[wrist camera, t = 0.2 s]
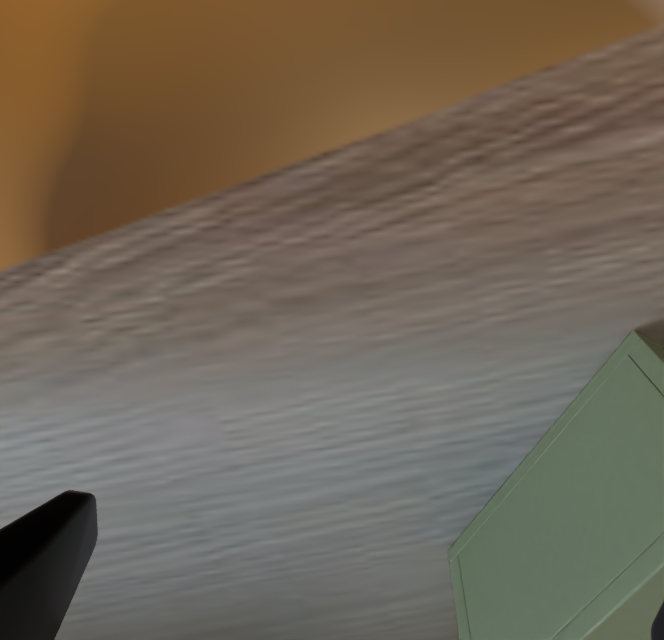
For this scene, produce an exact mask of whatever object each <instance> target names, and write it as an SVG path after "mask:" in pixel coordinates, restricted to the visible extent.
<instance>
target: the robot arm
mask: <svg viewBox="0 0 664 640" xmlns="http://www.w3.org/2000/svg"><path fill="white" fill-rule="evenodd" d="M97 535H98V528H97V509H96V499H95V496H94V495H93V494H91V493H86V492H80V491H74V490H68V491H65V492H63V493H61V494H60V495H58V496H56V497H55V498H53V499H51V500H49V501H48V502H46V503H44V504H43V505H41V506H39V507H38V508H36V509H34V510H32V511H31V512H29V513H27V514H26V515H24V516H22V517H20V518H19V519H17V520H15V521H14V522H12V523H10V524H8V525H7V526H5V527H3V528H2V529H0V640H54V638H55V636H56V634H57V632H58V630H59V628H60V625H61V623H62V621H63V619H64V616H65V614H66V612H67V609H68V607H69V605H70V603H71V600H72V598H73V596H74V594H75V591H76V589H77V587H78V584H79V582H80V580H81V578H82V575H83V573H84V571H85V569H86V566H87V564H88V562H89V559H90V557H91V555H92V553H93V550H94V548H95V545H96V541H97ZM651 640H664V601H663V603H662V605H661V607H660V609H659V611H658V613H657V615H656V617H655V619H654V621H653V623H652V627H651Z"/></svg>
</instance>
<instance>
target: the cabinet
mask: <svg viewBox="0 0 664 640" xmlns="http://www.w3.org/2000/svg"><path fill="white" fill-rule="evenodd" d="M448 559H449V564H450V573H451V580H452V588H453V596H454V603H455V611H456V618H457V626H458V634H459V640H651V627H652V623H653V621H654V619H655V617H656V615H657V613H658V611H659V609H660V607H661V605H662V603H663V601H664V346H662V345H660V344H658V343H657V342H655V341H653V340H651V339H649V338H647V337H646V336H644V335H642V334H640V333H638V332H637V331H634V330H633V331H632V332H631V333H630V334H629V336H628V337H627V338H626V339H625V340H624V342H623V343H622V344H621V345H620V346H619V348H618V349H617V350H616V351H615V352H614V353H613V355H612V356H611V357H610V358H609V359H608V361H607V362H606V363H605V364H604V365H603V367H602V368H601V369H600V370H599V371H598V373H597V374H596V375H595V376H594V377H593V378H592V380H591V381H590V382H589V383H588V384H587V386H586V387H585V388H584V389H583V390H582V392H581V393H580V394H579V395H578V396H577V398H576V399H575V400H574V401H573V402H572V404H571V405H570V406H569V407H568V408H567V409H566V411H565V412H564V413H563V414H562V415H561V417H560V418H559V419H558V420H557V421H556V423H555V424H554V425H553V426H552V427H551V429H550V430H549V431H548V432H547V433H546V435H545V436H544V437H543V438H542V439H541V440H540V442H539V443H538V444H537V445H536V446H535V448H534V449H533V450H532V451H531V452H530V454H529V455H528V456H527V457H526V458H525V460H524V461H523V462H522V463H521V464H520V465H519V467H518V468H517V469H516V470H515V471H514V473H513V474H512V475H511V476H510V477H509V479H508V480H507V481H506V482H505V483H504V485H503V486H502V487H501V488H500V489H499V491H498V492H497V493H496V494H495V495H494V496H493V498H492V499H491V500H490V501H489V502H488V504H487V505H486V506H485V507H484V508H483V510H482V511H481V512H480V513H479V514H478V516H477V517H476V518H475V519H474V520H473V521H472V523H471V524H470V525H469V526H468V527H467V529H466V530H465V531H464V532H463V533H462V535H461V536H460V537H459V538H458V539H457V541H456V542H455V543H454V544H453V545H452V547H451V548H450V549H449V550H448Z"/></svg>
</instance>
